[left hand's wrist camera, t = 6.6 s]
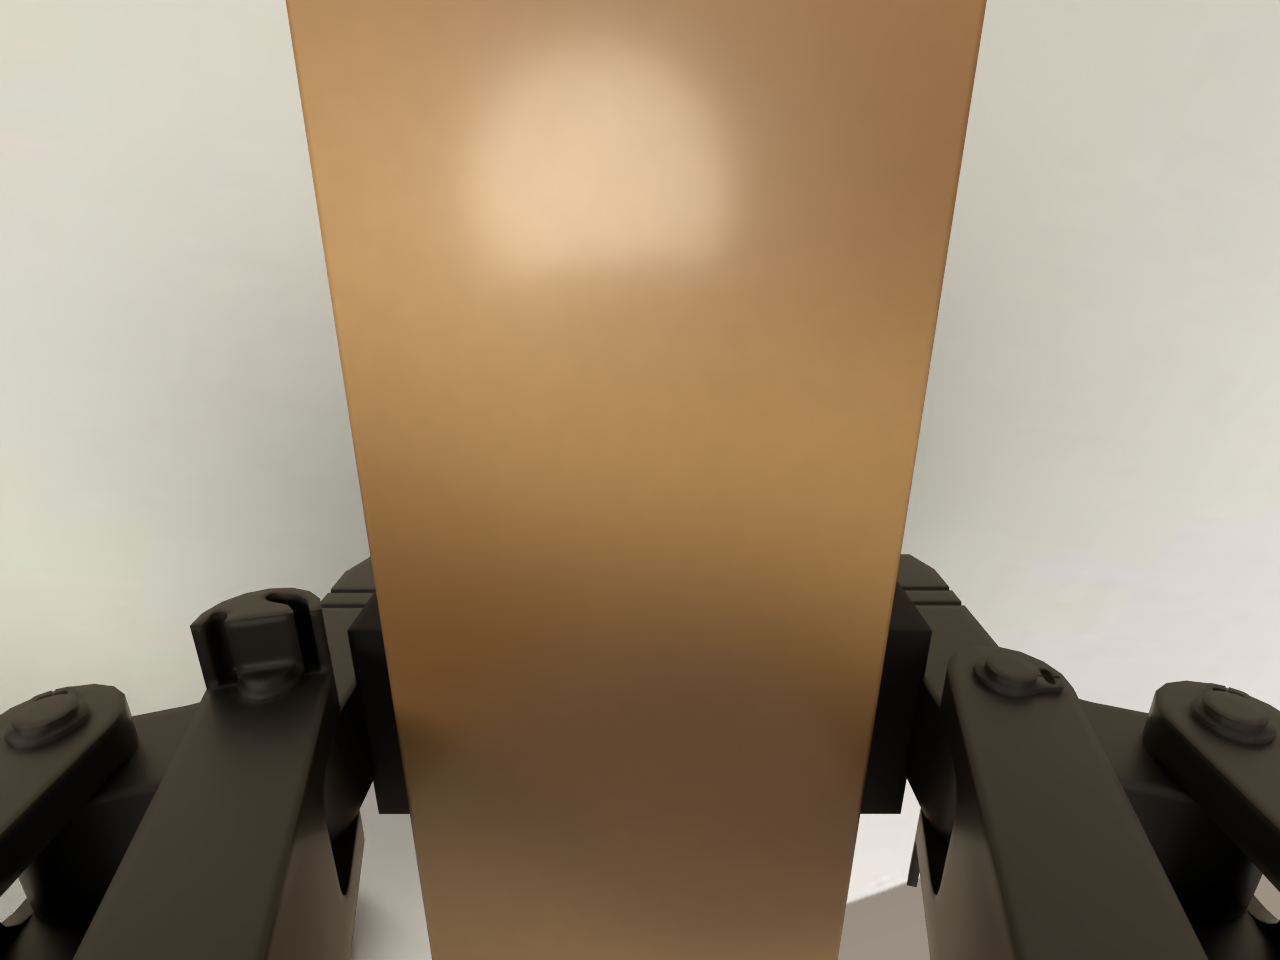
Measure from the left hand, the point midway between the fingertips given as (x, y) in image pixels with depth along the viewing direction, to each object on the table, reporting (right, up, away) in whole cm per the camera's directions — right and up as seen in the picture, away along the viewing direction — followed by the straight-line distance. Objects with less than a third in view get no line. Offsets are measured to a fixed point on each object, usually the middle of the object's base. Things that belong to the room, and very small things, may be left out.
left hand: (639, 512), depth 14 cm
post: (0, +28, -10) cm, 30 cm away
